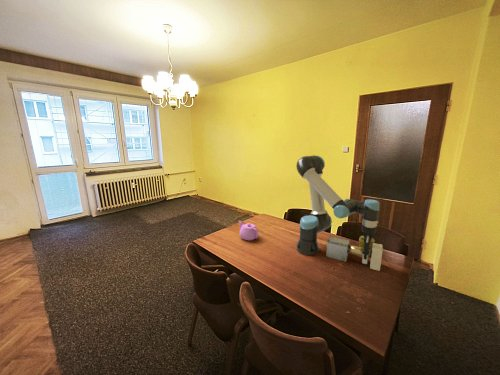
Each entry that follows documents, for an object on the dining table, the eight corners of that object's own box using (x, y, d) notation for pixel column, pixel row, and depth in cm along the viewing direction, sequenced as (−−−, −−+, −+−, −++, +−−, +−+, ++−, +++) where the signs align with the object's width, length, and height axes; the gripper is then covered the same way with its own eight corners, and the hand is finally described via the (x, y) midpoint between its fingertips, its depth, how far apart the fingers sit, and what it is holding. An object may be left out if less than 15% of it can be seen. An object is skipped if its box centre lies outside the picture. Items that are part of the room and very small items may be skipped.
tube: (342, 253, 132) (343, 245, 130) (343, 249, 136) (344, 241, 135) (373, 261, 123) (374, 252, 122) (373, 256, 127) (375, 248, 126)
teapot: (263, 238, 162) (263, 224, 160) (251, 244, 153) (251, 229, 150) (244, 231, 175) (244, 217, 173) (233, 236, 166) (232, 222, 163)
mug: (379, 252, 137) (375, 237, 137) (362, 255, 139) (358, 240, 140) (373, 246, 148) (369, 233, 149) (358, 249, 151) (354, 236, 152)
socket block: (369, 268, 123) (372, 249, 120) (370, 260, 131) (372, 242, 128) (379, 271, 121) (382, 251, 118) (379, 263, 128) (382, 244, 125)
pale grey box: (326, 256, 136) (327, 240, 134) (328, 250, 143) (330, 235, 141) (346, 261, 130) (347, 245, 127) (347, 255, 137) (349, 239, 135)
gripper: (376, 232, 113) (371, 270, 119) (376, 221, 129) (372, 255, 134) (360, 229, 117) (356, 266, 122) (363, 219, 132) (359, 252, 138)
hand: (364, 260), depth 128 cm, fingers closed on tube, 5 cm apart
